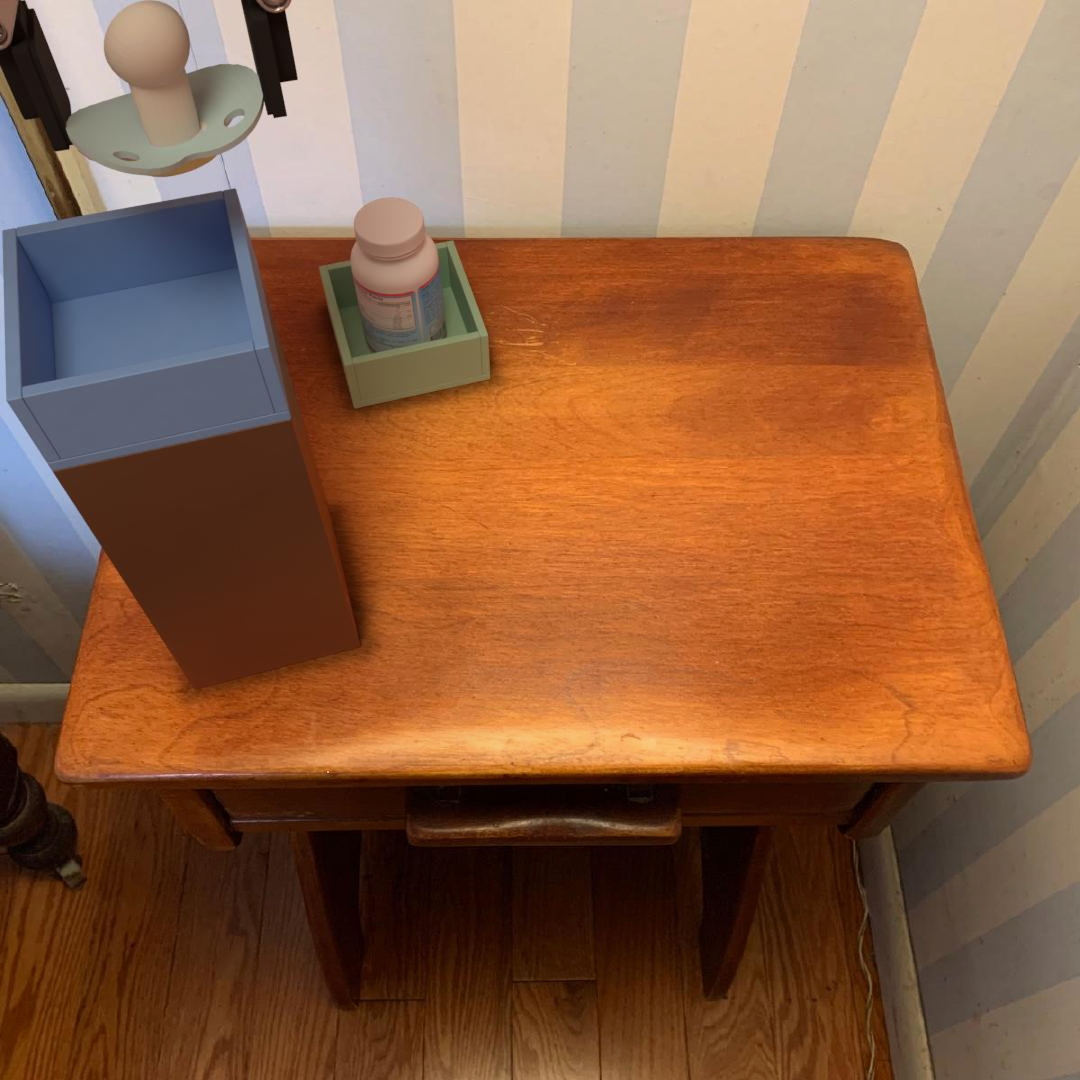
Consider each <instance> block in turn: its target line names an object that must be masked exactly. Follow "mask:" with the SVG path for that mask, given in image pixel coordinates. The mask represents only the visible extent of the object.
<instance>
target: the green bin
mask: <svg viewBox="0 0 1080 1080" xmlns="http://www.w3.org/2000/svg"><path fill="white" fill-rule="evenodd" d="M434 244H435V246H436V248H437V252H438V258H439V266H440V275H441V284H442V293H443V302H444V311H445V320H446V331H447V335H446V338H444V339H439V340H434V341H429V342H425V343H420V344H415V345H410V346H406V347H401V348H396V349H391V350H387V351H382V352H377V353H372V351H371V350H370V349H369V347H368V345H367V342H366V339H365V334H364V329H363V324H362V319H361V314H360V309H359V304H358V299H357V294H356V289H355V284H354V280H353V275H352V270H351V261H350V259H349V260H344V261H339V262H334V263H329V264H323V265H319V266H318V270H319V275H320V279H321V284H322V288H323V292H324V293H323V294H324V297H325V302H326V306H327V311H328V314H329V319H330V323H331V326H332V328H333V334H334V337H335V341H336V345H337V349H338V353H339V356H340V360H341V364H342V368H343V372H344V375H345V380H346V385H347V387H348V391H349V395H350V399H351V402H352V406H353V409H355V410H357V409H360V408H365V407H370V406H374V405H378V404H383V403H387V402H393V401H396V400H397V401H398V400H401V399H405V398H412V397H415V396H419V395H424V394H429V393H433V392H438V391H443V390H446V389H451V388H456V387H461V386H466V385H469V384H474V383H479V382H483V381H488V380H491V363H490V342H489V341H490V340H489V333H488V330H487V328H486V325H485V322H484V320H483V317H482V314H481V311H480V310H479V306H478V303H477V301H476V298H475V295H474V293H473V290H472V287H471V285H470V282H469V279H468V277H467V274H466V272H465V269H464V266H463V264H462V260H461V257H460V255H459V252H458V250H457V247H456V244H455V242H454V240H449V241H448V240H447V241H441V242H438V243H437V242H436V243H434Z"/></svg>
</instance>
